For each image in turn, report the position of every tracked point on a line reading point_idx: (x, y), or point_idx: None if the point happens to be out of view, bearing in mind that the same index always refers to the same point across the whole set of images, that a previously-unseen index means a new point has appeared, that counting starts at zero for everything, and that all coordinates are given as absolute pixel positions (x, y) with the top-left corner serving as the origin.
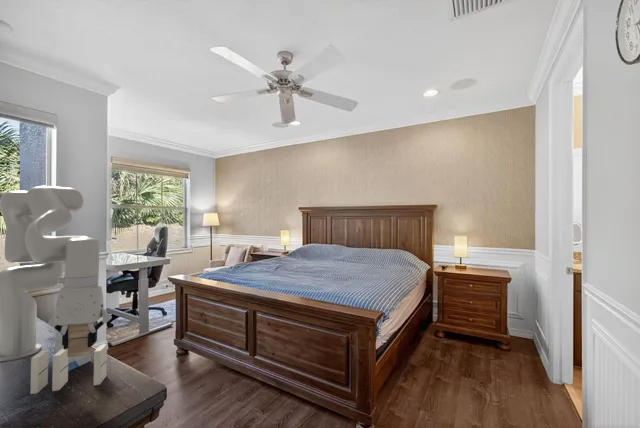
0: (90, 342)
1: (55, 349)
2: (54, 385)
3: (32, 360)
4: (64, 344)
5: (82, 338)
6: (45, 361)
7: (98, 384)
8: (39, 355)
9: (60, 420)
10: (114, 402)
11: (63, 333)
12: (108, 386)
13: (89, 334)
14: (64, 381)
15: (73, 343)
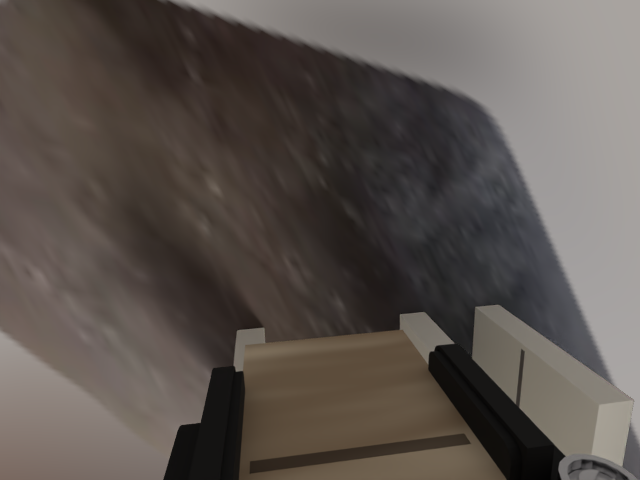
0: (206, 397)
1: None
2: (426, 323)
3: (614, 391)
4: (473, 370)
5: (316, 450)
6: (545, 432)
7: (243, 330)
8: (603, 432)
9: (268, 46)
10: (72, 142)
11: (585, 476)
12: (184, 305)
13: (206, 478)
14: None
15: (396, 400)
